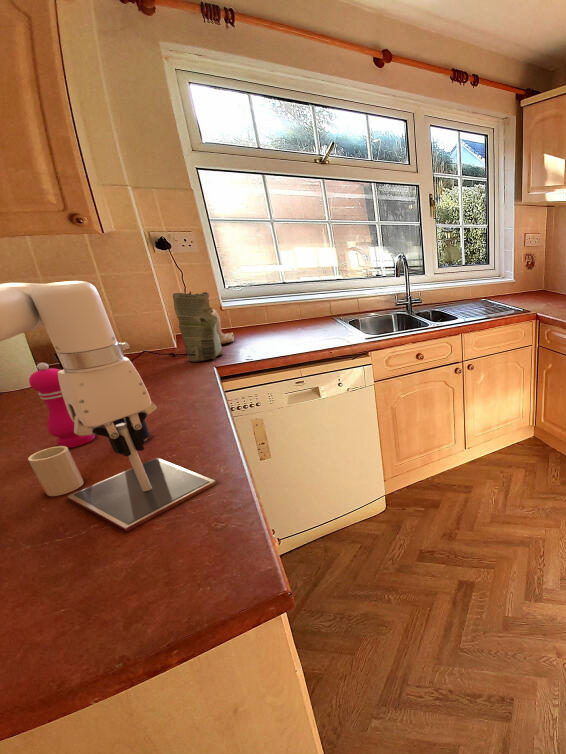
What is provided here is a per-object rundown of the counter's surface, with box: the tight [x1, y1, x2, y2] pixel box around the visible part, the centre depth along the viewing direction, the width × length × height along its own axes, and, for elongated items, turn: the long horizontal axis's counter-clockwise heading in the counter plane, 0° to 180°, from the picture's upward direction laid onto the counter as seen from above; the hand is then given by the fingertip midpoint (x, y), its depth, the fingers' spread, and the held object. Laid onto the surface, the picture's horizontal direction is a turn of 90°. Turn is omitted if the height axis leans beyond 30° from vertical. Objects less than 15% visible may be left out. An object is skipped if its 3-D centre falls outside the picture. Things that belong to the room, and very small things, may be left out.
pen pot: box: [27, 445, 85, 497], centre depth 82 cm, size 5×5×8 cm
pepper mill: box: [28, 362, 96, 449], centre depth 97 cm, size 7×7×20 cm
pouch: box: [172, 291, 224, 363], centre depth 154 cm, size 11×12×25 cm
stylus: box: [115, 423, 152, 491], centre depth 78 cm, size 1×1×14 cm
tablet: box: [66, 456, 217, 533], centre depth 82 cm, size 15×21×1 cm
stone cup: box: [211, 308, 235, 345], centre depth 172 cm, size 15×12×15 cm
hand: (131, 451), depth 78 cm, fingers closed on stylus, 1 cm apart
